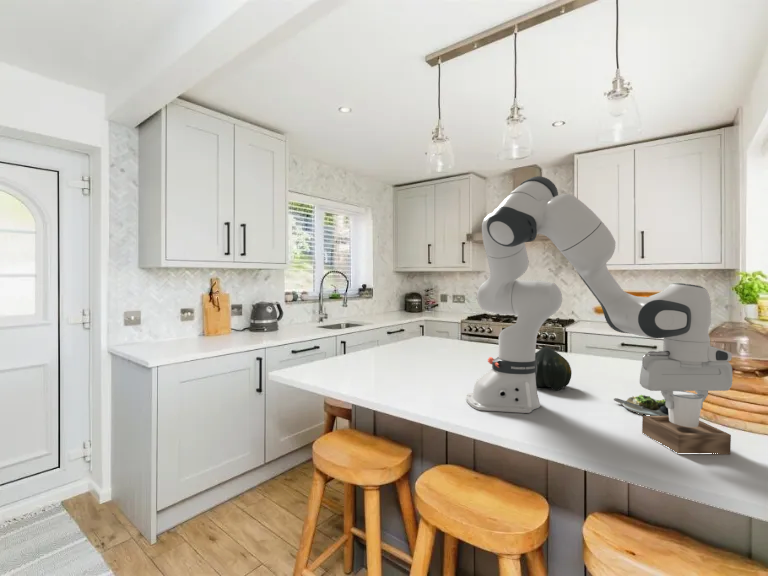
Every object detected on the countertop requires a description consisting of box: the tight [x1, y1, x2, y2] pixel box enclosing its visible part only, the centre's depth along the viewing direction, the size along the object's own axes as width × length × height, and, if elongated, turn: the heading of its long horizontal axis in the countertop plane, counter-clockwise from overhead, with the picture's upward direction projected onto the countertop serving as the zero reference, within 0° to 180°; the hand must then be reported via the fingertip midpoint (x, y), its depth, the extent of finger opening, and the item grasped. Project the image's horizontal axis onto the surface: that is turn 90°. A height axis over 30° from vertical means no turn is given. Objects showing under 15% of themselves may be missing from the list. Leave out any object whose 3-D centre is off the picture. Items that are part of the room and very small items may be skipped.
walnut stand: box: [641, 415, 732, 455], centre depth 95 cm, size 12×12×4 cm
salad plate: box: [613, 394, 669, 416], centre depth 118 cm, size 19×18×5 cm
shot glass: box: [668, 391, 703, 427], centre depth 94 cm, size 7×7×7 cm
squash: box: [535, 345, 572, 391], centre depth 142 cm, size 14×15×15 cm
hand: (683, 408), depth 94 cm, fingers closed on shot glass, 5 cm apart
